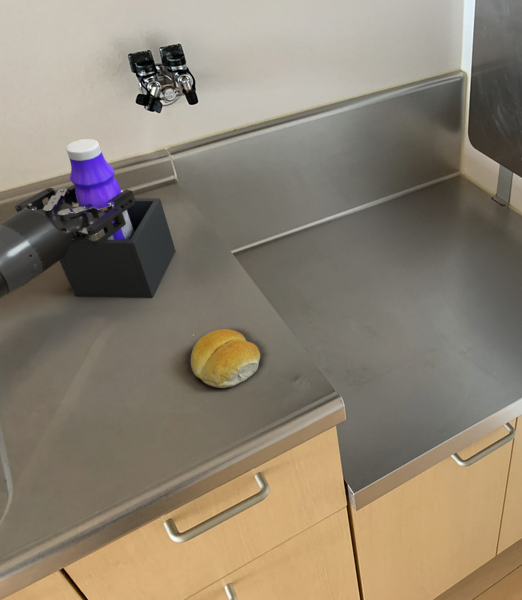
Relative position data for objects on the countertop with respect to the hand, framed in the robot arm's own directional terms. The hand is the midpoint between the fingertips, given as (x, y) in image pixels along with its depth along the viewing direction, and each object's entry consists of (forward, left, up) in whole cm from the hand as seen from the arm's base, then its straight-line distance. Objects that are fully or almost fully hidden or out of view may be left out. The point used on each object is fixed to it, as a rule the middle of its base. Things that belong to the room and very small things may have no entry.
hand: (110, 189), depth 88 cm
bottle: (-1, -2, -10) cm, 10 cm away
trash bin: (-1, -2, -14) cm, 14 cm away
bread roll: (+19, -21, -14) cm, 32 cm away
